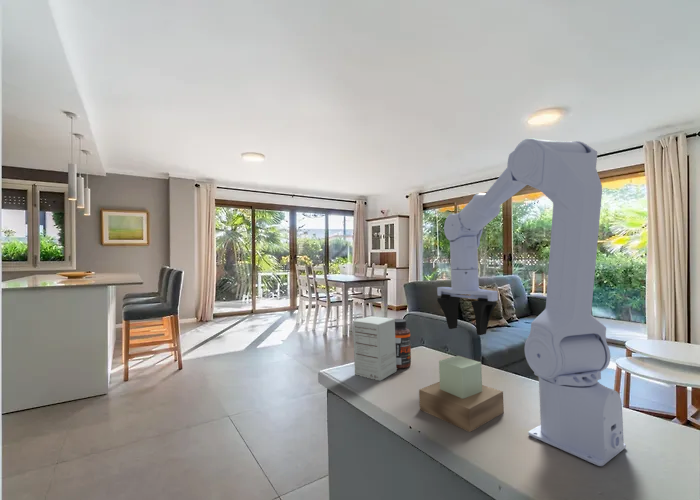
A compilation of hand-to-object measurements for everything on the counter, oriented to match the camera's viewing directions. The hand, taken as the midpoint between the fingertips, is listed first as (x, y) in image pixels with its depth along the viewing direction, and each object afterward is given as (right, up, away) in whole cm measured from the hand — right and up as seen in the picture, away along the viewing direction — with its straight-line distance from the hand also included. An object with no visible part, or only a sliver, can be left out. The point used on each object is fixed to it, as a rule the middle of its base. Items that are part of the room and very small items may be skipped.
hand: (466, 331), depth 73 cm
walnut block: (-6, -11, -15) cm, 19 cm away
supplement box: (-20, -11, +5) cm, 23 cm away
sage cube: (-6, -7, -15) cm, 17 cm away
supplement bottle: (-13, -11, +10) cm, 20 cm away
